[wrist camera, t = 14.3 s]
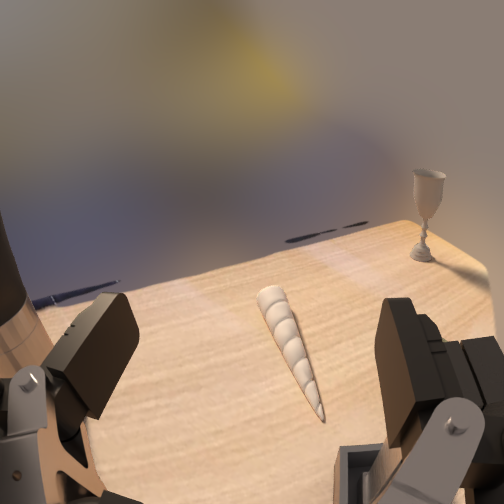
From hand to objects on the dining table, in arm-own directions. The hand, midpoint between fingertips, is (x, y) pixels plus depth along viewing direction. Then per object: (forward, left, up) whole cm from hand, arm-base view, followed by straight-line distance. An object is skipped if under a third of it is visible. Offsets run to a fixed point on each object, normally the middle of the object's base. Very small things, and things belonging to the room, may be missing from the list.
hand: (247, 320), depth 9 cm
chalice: (+48, +31, -26) cm, 63 cm away
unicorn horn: (+12, +21, -26) cm, 36 cm away
